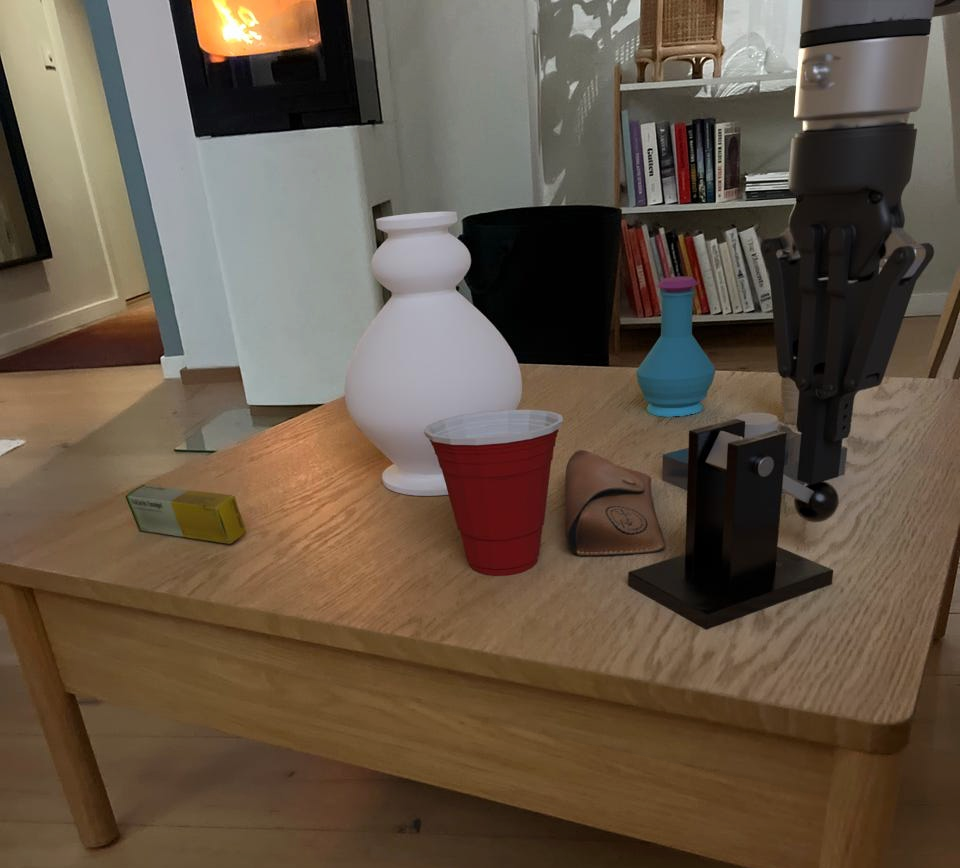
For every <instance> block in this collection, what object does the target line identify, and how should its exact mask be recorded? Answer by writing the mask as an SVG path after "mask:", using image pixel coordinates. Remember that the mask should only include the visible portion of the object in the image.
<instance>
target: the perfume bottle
mask: <svg viewBox="0 0 960 868" xmlns="http://www.w3.org/2000/svg"><path fill="white" fill-rule="evenodd" d="M698 285H699V283H698V282H697V280H696V279H695V278H694V277H692V276H687V275H686V276H685V275H684V276H681V275H679V276H668V277H664V278H662V279H661V280H660V282H659V283H658V284H656V286H657V287H658V288H660V289H661V290H660V291H659V295H660V296H661V308H660V309H661V315H660V316H661V317H660V335H659V338H658V339H657V340H656V342H655V343H654V345H653V346H652V348H651V349H650V351H649V352H648V354H647V355H646V356H645V357H644V359H643V361H642V362H641V363H640V365H639V366H638V368H636V380H637V384H638V387H639V389H640V391H641V393H642V399H644V401H646V402H647V403H648V405H647V407H646V412H647V413H649V414H651V415H653V416H658V417H666V418H676V417H675V416H680V417H685V416H684V415H688V416H691V415H690V414H693V415H695V413H696V414H699V413H700V412H702V411H703V404H702V401H703V400H705V399H706V398H707V396H708V393H709V390H710V388H711V386H712V384H713V381H714V379H715V374H716V367H715V365H714V364H713V362H712V360H711V359H710V358H709V357H708V355H707V354H706V352H705V351H704V350H703V348H702V347H701V345H700V344H699V343H698V341H697V340H696V338H695V336H694V335H693V310H694V309H693V307H694V295H695V293H696V289H695V288H694V287H696V286H698ZM698 412H699V413H698ZM673 416H674V417H673Z"/></svg>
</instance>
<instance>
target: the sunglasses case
mask: <svg viewBox="0 0 960 868" xmlns="http://www.w3.org/2000/svg"><path fill="white" fill-rule="evenodd" d="M564 477H565V479H564V480H565V481H564V483H565V485H564V487H565V489H564V491H565V495H564V496H565V502H564V503H565V508H564V509H565V510H564V511H565V536H566V542H567V545H568V546H569V547H570V549H571V550H572V551H573V552H574V553H575V554H576V555H577V556H580V557H624V556H633V555H642V554H650V553H656V552H660V551H662V550H664V549H666V541H665V538H664V533H663V531H662V528H661V525H660V523H659V519H658V516H657V513H656V510H655V504H654V499H653V495H652V477H651V476H650V475H647V474H646V473H644V472H642V471H638V470H633V469H631V468H627V467H624V466H621V465H617V464H615V463H614V462H612V461H610V460H609V459H607V458H604V457H602V456H601V455H599V454H596V453H594V452H591V451H588V450H583V449H579V450H577V451H575V452H574V453H573V454H572V455H571V456H570V458H569V459H568V461H567V463H566V466H565V476H564Z"/></svg>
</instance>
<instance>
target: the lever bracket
mask: <svg viewBox="0 0 960 868" xmlns="http://www.w3.org/2000/svg"><path fill="white" fill-rule="evenodd" d="M720 431H724V432H727V433H730V434H733V435H737V436H740V437H743V438H744V437H745V421H743V420H739V419H734V418H733V419H729V420H726V421H725V420H724V421H722V422H717V423H714V424H710V425H706V426H702V427H698V428H694V429H690V430H689V431H688V447H687V448H688V478H687V490H686V512H685V513H686V515H685V516H686V517H685V520H686V521H685V543H684V544H685V545H684V546H685V548H684V551H685V552H684V554H680V555H677V556H674V557H671V558H668V559H663V560H662V561H659V562H655V563H652V564H648V565H646V566H643V567H640V568H636V569H634V570H630V571H628V574H627V586H628V587H630V588H632V589H633V590H634V591H635V590H636V591H637V592H638V593H640V594H642V595H644V596H646V597H647V598H649V599H651V600H653V601H655V602H656V603H659V604H660V605H662V606H664V607H665V608H667V609H668V610H671V611H672V612H674V613H676V614H678V615H680V616H681V617H683V618H685V619H687V620H689V621H690V622H691V623H693V624H695V625H697V626H699V627H701V628H703V629H704V630H710V629H712V628H716V627H718V626H721V625H723V624H726V623H729V622H732V621H734V620H737V619H739V618H743V617H745V616H748V615H751V614H754V613H756V612H760V611H761V610H764V609H767V608H770V607H773V606H775V605H778V604H781V603H784V602H787V601H789V600H792V599H796V598H798V597H800V596H803V595H806V594H809V593H811V592H814V591H817V590H819V589H822V588H825V587H827V586H831V585H832V584H833V579H834V569H832V568H830V567H828V566H825V565H822V564H821V563H818V562H816V561H814V560H811V559H808V558H806V557H804V556H802V555H799V554H797V553H794V552H792V551H790V550H787V549H785V548H782V547H780V546H778V545H779V535H780V534H779V533H780V521H781V520H780V519H781V509H782V498H783V497H782V496H783V493H782V486H783V474H784V461H785V449H786V437H787V433H785V432H781V431H778V430H775V431H771V432H767V433H764V434H760V435H756V436H752V437H749V438H745V439H741V440H737V441H734V442H730V443H728V448H727V468H726V473H725V472H723V471H721V470H719V469H717V468H715V467H713V466H711V465H709V464H708V463H706V459H707V457H708V455H709V453H710V451H711V449H712V447H713V445H714V443H715V441H716V439H717V437H718V435H719V433H720Z"/></svg>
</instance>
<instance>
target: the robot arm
mask: <svg viewBox="0 0 960 868" xmlns="http://www.w3.org/2000/svg"><path fill="white" fill-rule="evenodd" d="M801 1H802V2H801V16H800V31H799V34H800V37H799V46H798V47H799V48H798V57H797V58H798V59H797V69H796V71H797V72H796V86H795V96H794V97H795V98H794V110H793V111H794V113H793V118H794V119H795V120H796V121H797V122H802V130H801V131H796V132H795V133H794V137H791V143H790V156H789V170H788V182H787V187H788V190H789V191H790V192H791V193H792V194H794V195H795V202H794V205H793V208H792V210H791V212H790V215H789V217H788V226H787V227H786V228H785V229H783V231H782V232H780V233H779V234H778V235H777V236H773V237H766V238H764V239H763V240H762V241H761V243H760V252H761V255H762V258H763V261H764V264H765V266H766V269H767V272H768V275H769V284H770V285H769V286H770V299H771V308H772V310H771V311H772V319H773V329H774V341H775V342H774V343H775V352H776V362H777V372H778V375H779V377H780V378H781V377H782V378H787V377H789V378H790V379H791V380H793V381H794V382H795V383H796V387H797V388H798V390H799V400H798V412H797V416H798V417H797V423H796V425H795V426H796V430H797V433H800V434H801V442H800V453H799V464H798V475H797V480H800V481H803V482H805V483H808V484H811V485H813V484H816V483H819V482H823V481H825V482H827V481H829V480H832V479H836V478H838V477H839V476H838V474H839V465H840V457H841V448H842V446H843V440H844V439H848V437H849V435H850V432H851V429H852V421H853V420H852V418H853V413H854V412H853V410H854V404H855V403H854V402H855V397H856V395H857V393H858V392H860V391H864V390H868V389H872V388H876V387H879V386H880V385H881V384H882V383H883V380H884V377H885V374H886V370H887V368H888V365H889V362H890V360H891V357H892V353H893V350H894V347H895V345H896V341H897V339H898V335H899V333H900V329H901V327H902V324H903V322H904V318H905V315H906V313H907V309H908V306H909V304H910V300H911V298H912V296H913V295H912V294H913V291H914V288H915V286H916V283H917V281H918V280H919V278H920V276H922V273H923V272H924V271H925V270H926V268H927V267H928V266H929V264H930V262H931V261H932V260H933V258H934V254H935V250H934V247H933V244H931V243H930V242H922V243H918V242H917V241H915V239H914V238H913V237H911V235H910V234H909V233H908V232H907V231H906V230H905V229H904V227H905V222H906V220H905V219H906V217H905V213H904V209H903V205H902V196H903V192H904V191H905V188H906V187H907V185H908V184H909V183H910V182H911V178H912V172H913V165H914V164H913V163H914V156H915V150H916V142H917V134H918V128H915V124H914V123H913V122H912V123H911V122H910V123H909V122H908V121H909V118H910V114H911V113H916V112H918V110H919V109H921V107H922V101H923V93H924V84H925V76H926V69H927V68H926V66H927V59H928V52H929V42H930V36H929V35H931V29H932V22H931V21H932V20H933V18H935V17H942V16H943V17H944V16H947V15H952V14H958V13H960V0H801ZM880 268H881V269H880ZM794 356H795V357H796V359H794Z"/></svg>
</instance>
